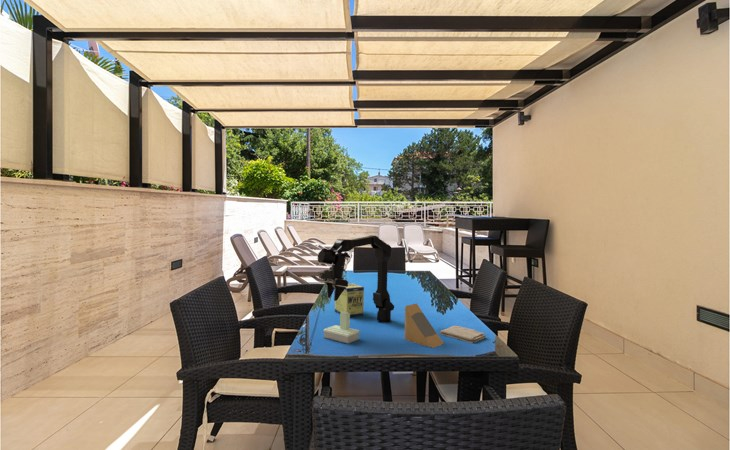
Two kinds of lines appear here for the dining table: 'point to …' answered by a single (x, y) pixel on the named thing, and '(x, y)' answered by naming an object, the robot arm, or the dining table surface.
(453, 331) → the washcloth
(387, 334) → the dining table surface
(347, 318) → the pale green grooved stand
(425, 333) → the sandwich container
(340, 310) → the protein box
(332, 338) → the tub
